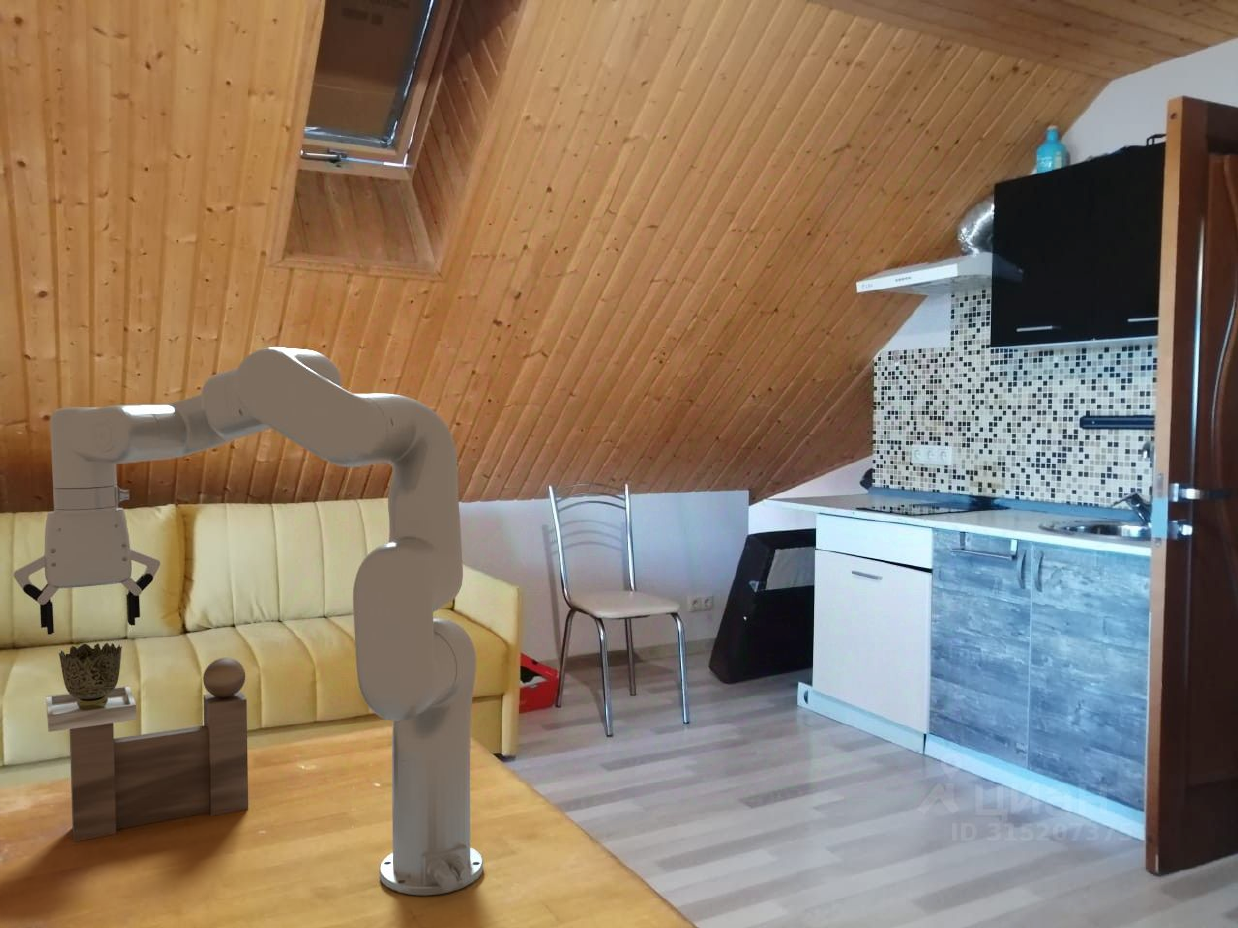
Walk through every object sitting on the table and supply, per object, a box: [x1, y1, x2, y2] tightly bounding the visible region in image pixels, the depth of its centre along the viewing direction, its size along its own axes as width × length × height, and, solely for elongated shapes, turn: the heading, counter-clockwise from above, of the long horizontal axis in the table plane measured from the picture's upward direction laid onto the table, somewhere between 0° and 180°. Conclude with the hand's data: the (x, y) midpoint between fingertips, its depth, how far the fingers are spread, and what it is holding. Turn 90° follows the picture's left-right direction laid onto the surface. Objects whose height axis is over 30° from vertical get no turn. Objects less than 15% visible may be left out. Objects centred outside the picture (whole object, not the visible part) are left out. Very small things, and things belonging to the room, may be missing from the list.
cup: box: [58, 642, 123, 710], centre depth 137 cm, size 8×7×8 cm
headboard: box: [45, 657, 249, 843], centre depth 141 cm, size 10×25×22 cm, turn 120°
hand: (91, 627), depth 136 cm, fingers open, 9 cm apart
